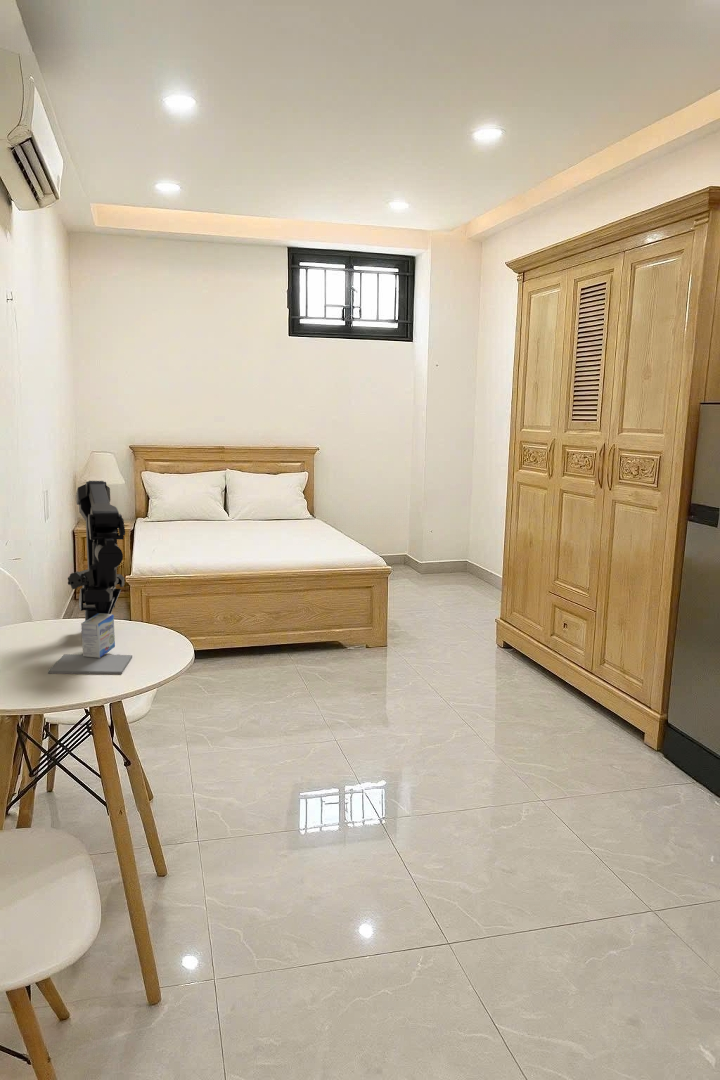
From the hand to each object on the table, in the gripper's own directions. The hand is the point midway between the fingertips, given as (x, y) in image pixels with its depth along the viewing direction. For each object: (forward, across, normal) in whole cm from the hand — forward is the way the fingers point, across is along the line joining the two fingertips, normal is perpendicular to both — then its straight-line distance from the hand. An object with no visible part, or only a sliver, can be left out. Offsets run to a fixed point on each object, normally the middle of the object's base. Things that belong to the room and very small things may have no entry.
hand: (104, 620), depth 197 cm
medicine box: (+6, +8, 0) cm, 10 cm away
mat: (+6, +15, 0) cm, 17 cm away
